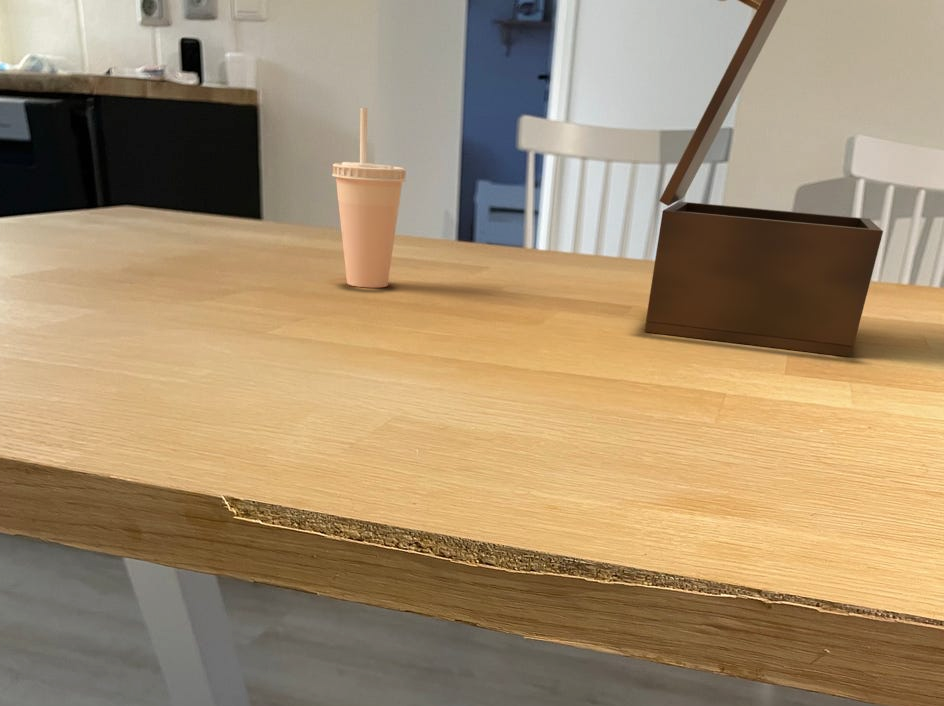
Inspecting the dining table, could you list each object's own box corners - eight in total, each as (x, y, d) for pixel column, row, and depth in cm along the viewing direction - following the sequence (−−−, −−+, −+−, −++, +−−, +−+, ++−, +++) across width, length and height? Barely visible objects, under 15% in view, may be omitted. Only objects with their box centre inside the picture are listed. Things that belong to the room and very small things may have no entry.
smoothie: (341, 276, 90) (342, 106, 83) (408, 282, 89) (414, 112, 82) (323, 285, 84) (323, 105, 77) (394, 292, 83) (400, 110, 77)
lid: (796, -16, 72) (733, -49, 72) (797, -44, 62) (724, -82, 62) (683, 197, 81) (628, 167, 81) (668, 206, 70) (604, 171, 70)
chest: (842, 329, 82) (869, 218, 78) (850, 357, 71) (883, 230, 67) (661, 308, 85) (678, 201, 81) (644, 332, 75) (662, 210, 71)
